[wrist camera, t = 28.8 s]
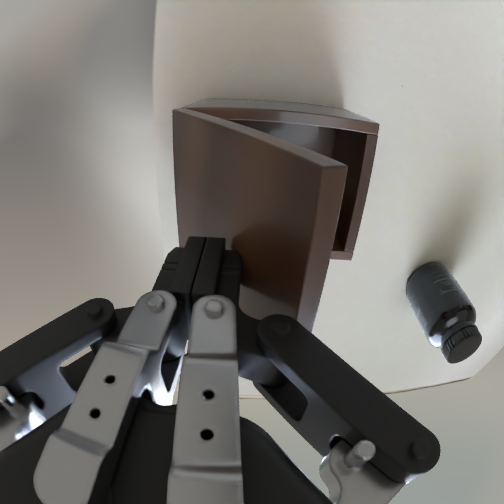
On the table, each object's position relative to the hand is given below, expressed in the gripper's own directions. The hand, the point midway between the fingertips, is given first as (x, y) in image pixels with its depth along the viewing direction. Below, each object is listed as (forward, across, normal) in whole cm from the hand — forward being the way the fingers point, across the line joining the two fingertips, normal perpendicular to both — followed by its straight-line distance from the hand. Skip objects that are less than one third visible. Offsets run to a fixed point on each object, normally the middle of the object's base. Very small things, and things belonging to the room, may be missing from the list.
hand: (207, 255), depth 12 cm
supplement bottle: (+17, -25, +14) cm, 34 cm away
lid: (+2, -1, 0) cm, 2 cm away
